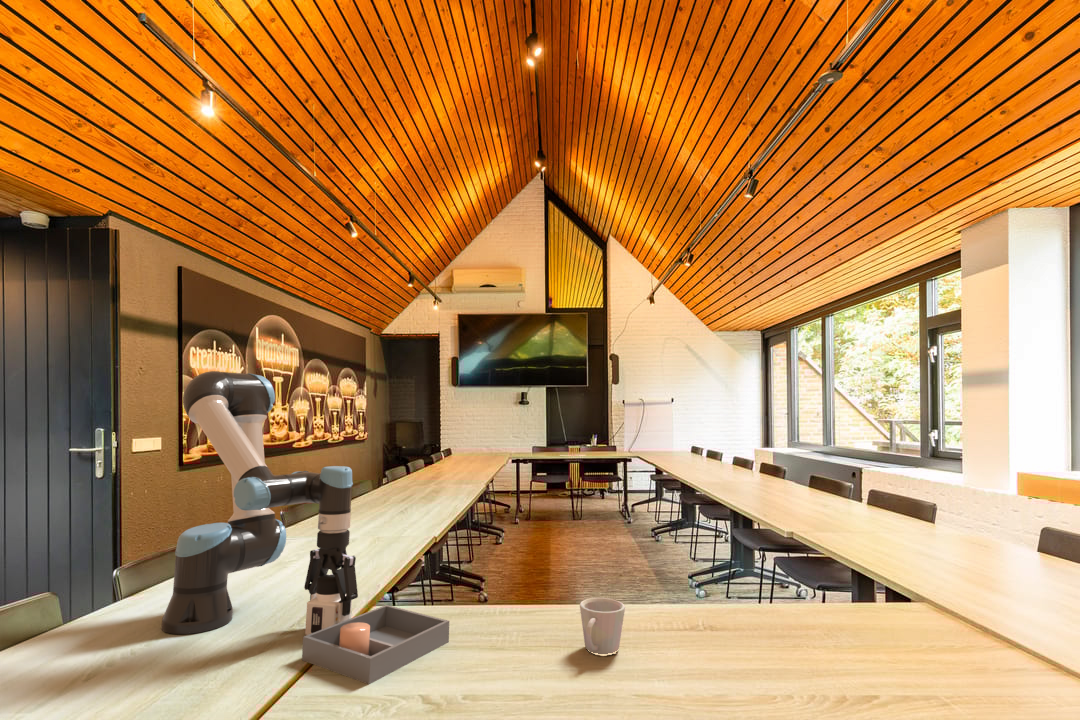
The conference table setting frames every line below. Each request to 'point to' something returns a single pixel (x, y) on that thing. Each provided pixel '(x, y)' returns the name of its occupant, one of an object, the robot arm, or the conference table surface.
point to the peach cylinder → (355, 637)
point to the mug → (602, 624)
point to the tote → (377, 643)
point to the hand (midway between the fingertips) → (328, 624)
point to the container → (323, 605)
